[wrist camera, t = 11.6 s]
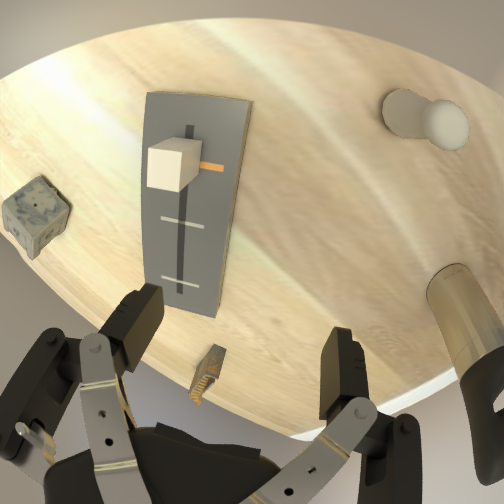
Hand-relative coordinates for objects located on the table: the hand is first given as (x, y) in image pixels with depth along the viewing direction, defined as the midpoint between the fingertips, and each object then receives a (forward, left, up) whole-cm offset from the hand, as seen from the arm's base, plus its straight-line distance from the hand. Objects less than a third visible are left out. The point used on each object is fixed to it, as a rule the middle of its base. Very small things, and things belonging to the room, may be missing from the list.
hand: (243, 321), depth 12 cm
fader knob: (+7, +8, -21) cm, 23 cm away
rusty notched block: (-31, +28, -25) cm, 48 cm away
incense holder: (+12, +38, -24) cm, 47 cm away
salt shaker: (+2, -17, -24) cm, 30 cm away
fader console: (-1, +13, -24) cm, 28 cm away
